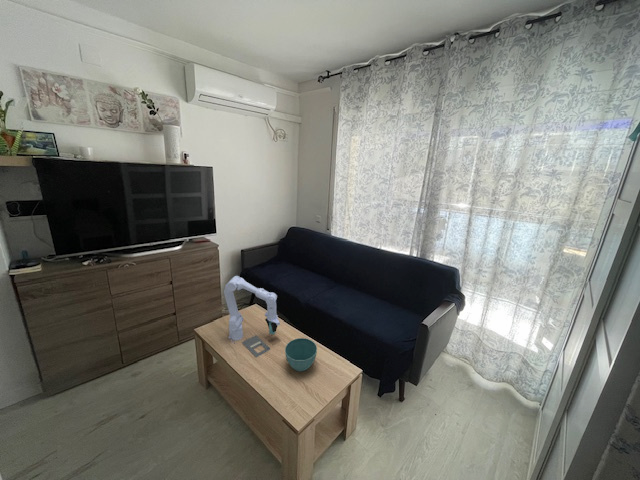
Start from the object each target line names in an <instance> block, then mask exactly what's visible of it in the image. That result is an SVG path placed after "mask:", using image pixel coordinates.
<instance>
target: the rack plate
mask: <svg viewBox="0 0 640 480" xmlns="http://www.w3.org/2000/svg"><path fill="white" fill-rule="evenodd" d="M241 342H242V345H243V346H244V347H245V348H246V349H247V350H248V351H249V352H250V353H251V354H252V355H253V356H254V357H255V358H258V357H260V356H262V355H263V354H265V353H268V352H269V351H270V350H271V347H270V346H268V345H267V343H265V341H264V340H262V339H261V338H260V337H259V336H258V335H257V334H256V335H253V336H252V337H249V338H247V339H246V340H243V341H241ZM258 347H263V348H264V349H263V350H261V351H259V352H258V351H256V350H255V349H257V348H258Z"/></svg>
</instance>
